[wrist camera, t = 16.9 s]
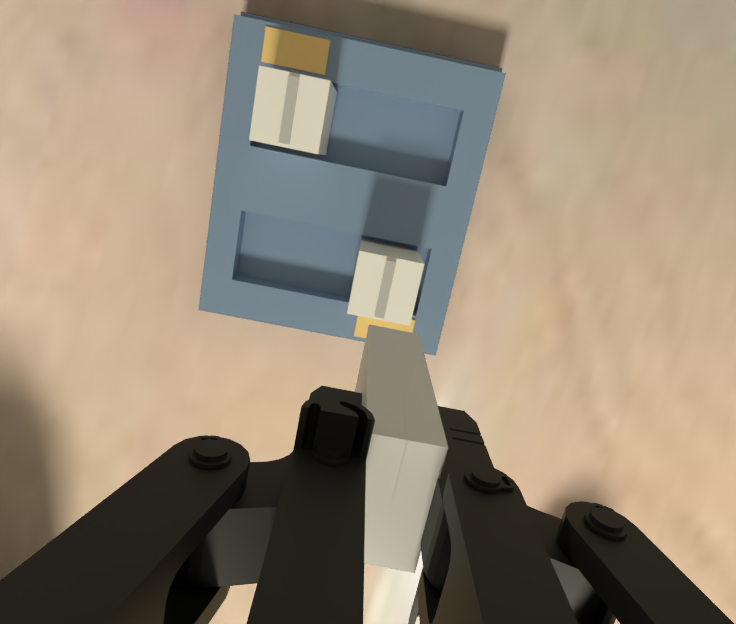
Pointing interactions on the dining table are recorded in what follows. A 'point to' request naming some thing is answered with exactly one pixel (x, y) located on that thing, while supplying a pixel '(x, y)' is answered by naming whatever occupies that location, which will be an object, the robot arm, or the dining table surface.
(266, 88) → the tab
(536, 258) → the dining table surface
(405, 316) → the tab
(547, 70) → the dining table surface
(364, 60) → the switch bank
